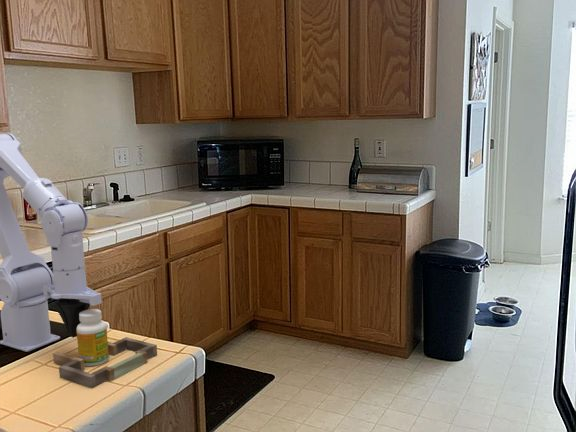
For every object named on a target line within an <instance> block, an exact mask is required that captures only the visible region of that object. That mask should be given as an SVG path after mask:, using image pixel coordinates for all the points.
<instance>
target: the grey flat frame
mask: <svg viewBox="0 0 576 432" xmlns="http://www.w3.org/2000/svg"><path fill="white" fill-rule="evenodd" d="M108 351H109V356H116V355H119V354H121V353H122V352H124V351H132V352H134V353H135V354H133V355H131V356H129V357H126V358H125V359H122V360H121V361H119V362H117V363H114V364H113V365H111V366H107V365H106V366H103V367H101V368H99V369H97V370H95V371H93V372H91V373H90V372H87V371H84V370H86V369H85V366H84V359H81V358H79V356H78V357H77V356H74V355H70V354H67V353H64V352H61V351H55V352H52V358H53V361H52V362H53V364H54V365H59V366H58V371H59V372H58V374H59V379H63V380H65V381H68V382H70V383H71V382H72V383H74V384H77V385H81V386H84V387H86V388H89V389H93V388H95V387H97V386H99V385H101V384H102V383H103V384H104V383H105V382H106V381H109V382H111V381H113V380H116V379H118V378H119V377H122V376H123V375H125V374H127V373H129V372H131V371H134V370H135V369H137V368H139V367H141V366H143V365H144V364H146V363H148V360H149V359H152V358H154V357H155V356H157V355H158V346H157V344H153V343H150V342H147V341H142V340H138V339H134V338H130V337H128V336H127V337H123V338H121V339H118V340H117V341H114V342H112V341H111V342H110V341H108Z"/></svg>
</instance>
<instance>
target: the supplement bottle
mask: <svg viewBox="0 0 576 432" xmlns="http://www.w3.org/2000/svg"><path fill="white" fill-rule="evenodd" d="M102 318H103V314H102V310H100V309H99V308H92V309H91V308H88V310H85V311H82V312H80V313H79V320H80V322H81V323H80V324H79V325H78V326H77V336H76V339H77V350H78V351H77V352H78V358H81V359H84V367H95V366H99V365H103V364H104V363H106V362H107V361H108V360H109V358H110V354H109V351H108V342H109V340H108V339H109V338H108V330H107V329H108V327H107V323H106V322H105V321H104V320H102Z"/></svg>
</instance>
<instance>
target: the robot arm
mask: <svg viewBox="0 0 576 432" xmlns="http://www.w3.org/2000/svg"><path fill="white" fill-rule="evenodd" d="M21 144H22V143H21V142H20V141H18V139H17V137H16V136H15V135H14V134H12V133H11V132H10V133H9V132H7V133H3V134H0V256H1V258H2V261H1V263H0V301H1V302H3V305H2V307H1V309H0V322H1V330H2V338H3V339H1V340H0V345H4V346H5V347H10V348H13V349H16V350H18V351H19V350H20V351H23V352H31V351H33V350H36V349H38V348H40V347H43V346H45V345H48V344H50V343H52V342H56V341H58V340H60V339H61V336H60V335H56V334H54V333H51V324H50V314H49V304H48V303H49V302H48V299H53V300H54V299H55V300H58V301H55V302H53V304H52V307H53V308H54V309H55V310H56V312H57V314H58V315H59V316H60V318H61V321H62V322H63V325H64V326H65V330H66V332H67V335H68V337H69V338H70V337H71V338H77V326H78V325H79V324H80V323H81V322H80V320H79V313H80V312H82V311H85V310H89V309H90V307H91V306H92V307H94V306H95V307H96V306H98V305H101V304H102V302H103V301H102V293H100V292H97V291H95V290H94V289H92V288H90V287H88V284H87V283H88V282H87V274H86V273H87V272H86V262H85V251H84V239H83V238H84V237H83V232H85V230H86V229H87V227H88V223H89V217H88V213H87V210H86V209H85V208H84V206H83V205H82V204H81V203H80V202H77V201H76V202H73V201H72V200H70V199H67V198H66V196H64V195H63V194H62V193H61V191H60V190H59V189H58V188H57V187H56V186H55V185H54V184H53V182H52V181H51V180H50V178H49V179H48V178H46V177H39V176H38V174H37V173H36V172H35V171H34V169H33V168H32V167H31V165H30V163H28V161H27V160H26V159H25V157H24V156H23V154H22V145H21ZM8 177H11V178H12V179H13V181H15V182H16V183H17V184H18V185H19V186H20V187H21V188H22V189H23V191H22V198H23V199H24V200H25V201H26V202H27V203H28V205H29V206H30V207H31V208H32V209H33V211H34V212H35V213H36V214H37V215H38V216H39V217H40V218H41V221H40V225H41V228H42V231H43V232H44V235H45V236H46V243H47V245H48V246H49V247H50V253H51V261H52V270H51V268H50V267H49V266H48V264H47V263H46V261H45V257H43V256H40V255H39V254H36V253H34V252H31V251H30V248H29V246H28V243H27V241H26V238H25V236H24V233H23V231H22V228H21V225H20V223H19V221H18V217H17V215H16V213H15V210H14V207H13V204H12V203H11V201H10V200H11V199H10V197H9V194H8V193H7V190H6V188H5V187H6V186H5V184H4V181H5V179H7V178H8Z"/></svg>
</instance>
